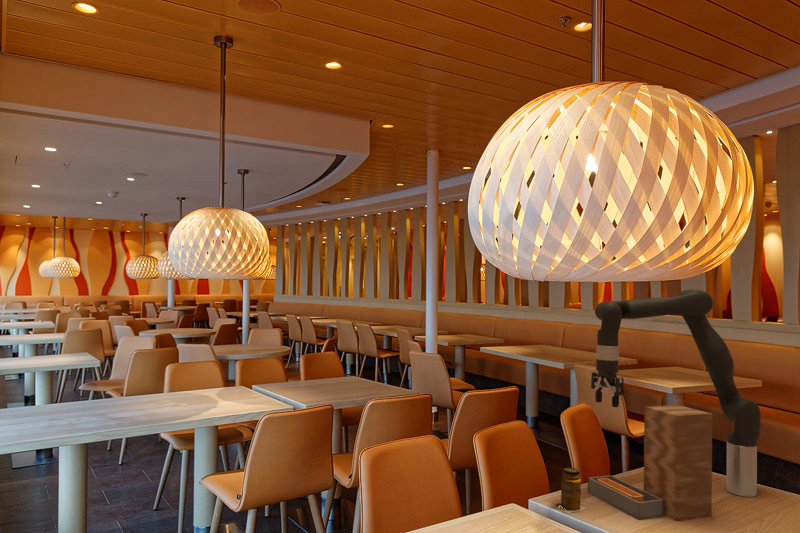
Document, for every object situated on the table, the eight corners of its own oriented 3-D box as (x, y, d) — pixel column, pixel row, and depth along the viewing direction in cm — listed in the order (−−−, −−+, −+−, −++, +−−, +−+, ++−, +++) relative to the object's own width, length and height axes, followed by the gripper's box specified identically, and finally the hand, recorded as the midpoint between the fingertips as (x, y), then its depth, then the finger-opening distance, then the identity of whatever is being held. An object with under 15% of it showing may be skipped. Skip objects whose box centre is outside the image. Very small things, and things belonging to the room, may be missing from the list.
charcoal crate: (587, 492, 200) (587, 477, 200) (611, 489, 203) (611, 475, 203) (638, 519, 177) (638, 503, 177) (664, 516, 180) (664, 500, 180)
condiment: (586, 508, 185) (586, 471, 185) (568, 514, 180) (569, 475, 180) (568, 501, 191) (568, 464, 191) (550, 506, 186) (551, 468, 186)
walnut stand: (643, 504, 190) (644, 406, 191) (676, 500, 194) (677, 404, 196) (676, 520, 177) (677, 415, 178) (711, 516, 181) (712, 413, 182)
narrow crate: (595, 490, 200) (596, 479, 200) (606, 489, 201) (606, 477, 201) (632, 510, 183) (633, 497, 183) (644, 508, 184) (644, 496, 184)
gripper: (630, 360, 198) (629, 408, 197) (602, 355, 211) (602, 400, 211) (612, 361, 195) (611, 409, 195) (585, 355, 209) (584, 401, 208)
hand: (606, 404), depth 203 cm, fingers open, 8 cm apart
